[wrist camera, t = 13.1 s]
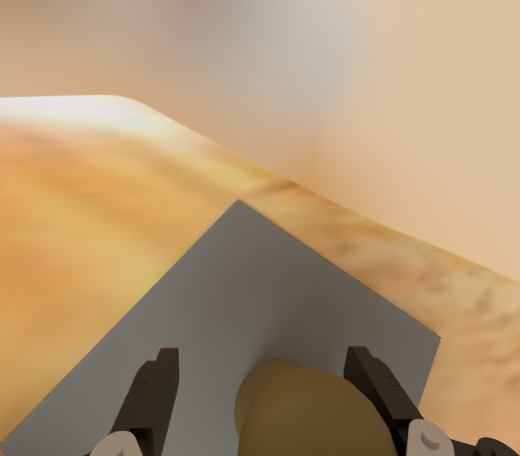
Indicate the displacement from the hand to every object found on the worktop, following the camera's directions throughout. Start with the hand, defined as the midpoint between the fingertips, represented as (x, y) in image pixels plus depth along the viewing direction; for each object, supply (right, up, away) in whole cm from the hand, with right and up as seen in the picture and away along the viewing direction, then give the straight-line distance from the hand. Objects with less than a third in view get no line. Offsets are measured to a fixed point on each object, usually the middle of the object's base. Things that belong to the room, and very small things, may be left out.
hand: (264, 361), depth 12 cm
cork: (+1, -6, +5) cm, 7 cm away
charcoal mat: (-1, -4, +6) cm, 7 cm away
